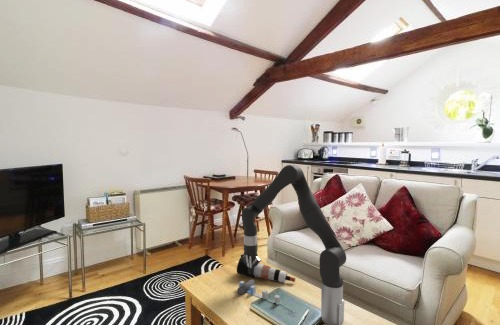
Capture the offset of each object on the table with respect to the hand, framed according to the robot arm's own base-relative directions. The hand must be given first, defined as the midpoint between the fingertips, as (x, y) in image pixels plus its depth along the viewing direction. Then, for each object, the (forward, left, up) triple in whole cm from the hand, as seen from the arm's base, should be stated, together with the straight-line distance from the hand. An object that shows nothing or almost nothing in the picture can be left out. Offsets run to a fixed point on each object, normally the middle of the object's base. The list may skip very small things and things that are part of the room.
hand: (250, 273), depth 147 cm
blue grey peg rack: (-8, +3, -9) cm, 12 cm away
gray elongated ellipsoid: (0, +3, -8) cm, 9 cm away
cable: (-1, -14, -9) cm, 17 cm away
